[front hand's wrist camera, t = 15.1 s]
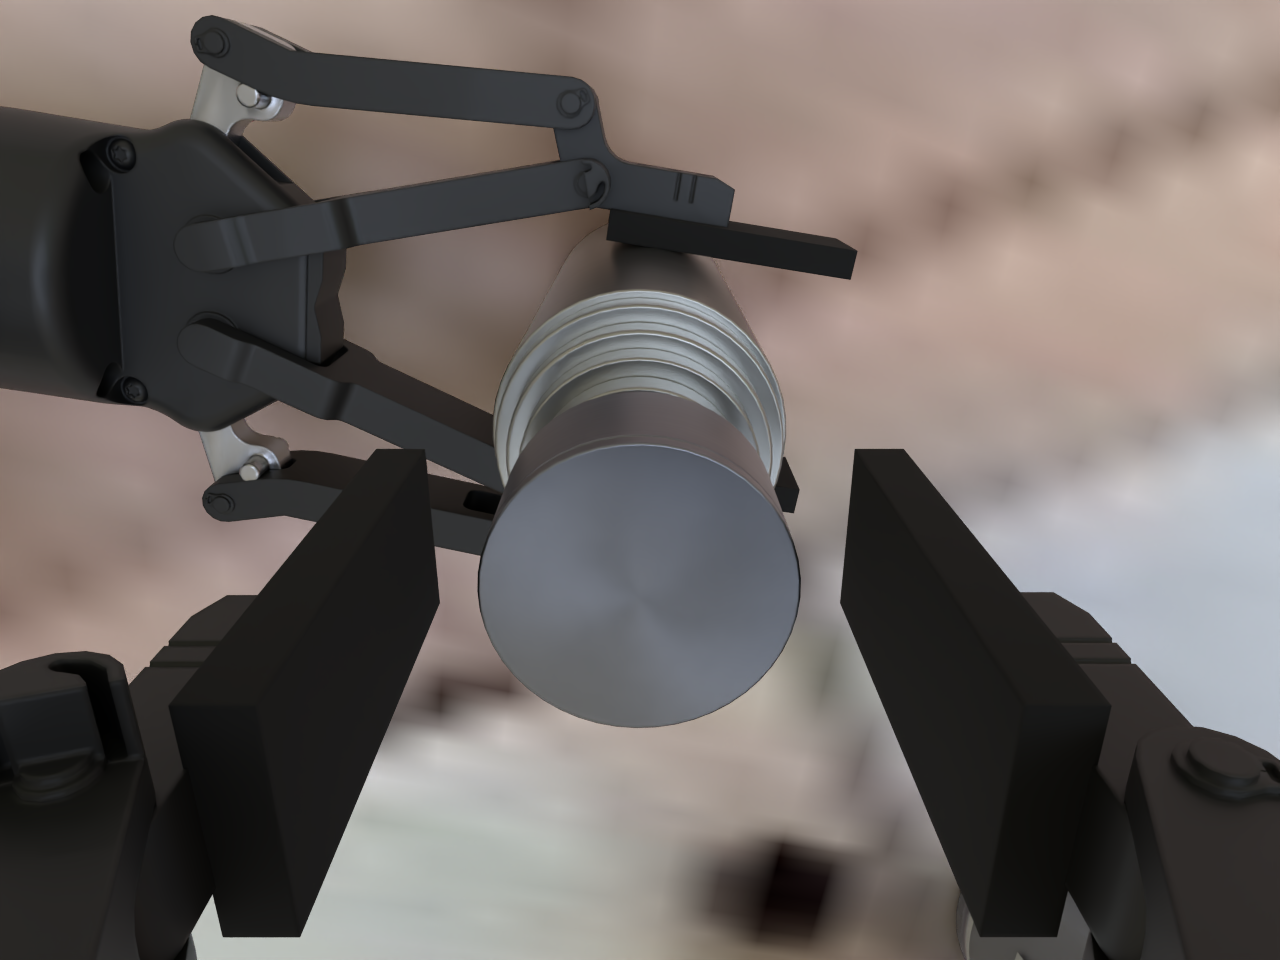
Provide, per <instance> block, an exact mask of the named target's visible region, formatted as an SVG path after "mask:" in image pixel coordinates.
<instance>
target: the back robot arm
mask: <svg viewBox="0 0 1280 960" xmlns="http://www.w3.org/2000/svg"><path fill="white" fill-rule="evenodd" d="M191 45H192V48H193V51H194V53H195V55H196V56H197V58H198V59H199V60H200V62H202V63H203V64H204V67H203V71H202V75H201V79H200V83H199V87H198V90H197V94H196V98H195V102H194V106H193V110H192V114H191V118H190V119H183V120H177V121H174V122H171V123H169V124H167V125H165V126H162V127H160V128H157V129H153V130H146V129H138V128H132V127H126V126H120V125H114V124H108V123H102V122H96V121H89V120H83V119H77V118H71V117H65V116H59V115H53V114H47V113H41V112H35V111H28V110H22V109H16V108H9V107H1V106H0V388H4V389H11V390H18V391H24V392H31V393H38V394H45V395H52V396H59V397H65V398H72V399H79V400H86V401H93V402H100V403H108V404H119V405H133V406H143V407H148V408H151V409H154V410H156V411H159V412H161V413H163V414H165V415H167V416H168V417H170V418H172V419H173V420H174V421H176V422H177V423H179V424H181V425H182V426H184V427H186V428H189V429H192V430H195V431H199V433H200V436H201V440H202V443H203V446H204V449H205V452H206V455H207V458H208V461H209V464H210V467H211V471H212V474H213V477H214V480H215V483H213V484H212V485H211V486H210V487H209V488H208V489H207V490H206V491H205V492H204V494H203V497H202V501H203V506H204V508H205V510H206V512H207V513H208V514H209V515H211V516H212V517H213V518H215V519H217V520H219V521H226V522H231V521H240V520H249V519H258V518H266V517H275V516H284V515H285V516H289V517H294V518H299V519H304V520H309V521H314V522H318V520H319V519H320V518H321V517H322V515H323V514H324V513H325V512H326V510H327V509H328V508H329V507H330V506H331V504H332V503H333V502H334V501H335V499H336V498H337V497H338V496H339V494H340V493H341V492H342V491H343V490H344V488H345V487H346V486H347V485H348V483H349V482H350V481H351V480H352V478H353V477H354V476H355V475H356V473H357V472H358V471H359V470H360V469H361V467H362V466H363V465H364V464H365V462H366V461H365V460H360V459H356V458H351V457H346V456H341V455H337V454H332V453H326V452H319V451H305V450H299V451H289V445H288V443H287V441H285V440H284V439H283V438H279V437H278V438H276V437H274V436H268V435H261V434H259V433H257V432H255V431H254V430H252V429H251V428H250V427H249V426H248V424H247V423H246V421H245V419H244V418H245V417H247V416H249V415H251V414H253V413H255V412H257V411H259V410H261V409H262V408H264V407H266V406H268V405H270V404H272V403H274V402H276V401H278V400H279V401H281V402H283V403H285V404H288V405H290V406H292V407H294V408H297V409H299V410H301V411H303V412H305V413H308V414H310V415H312V416H314V417H317V418H320V419H325V420H340V421H343V422H346V423H348V424H350V425H352V426H355V427H357V428H359V429H361V430H363V431H366V432H368V433H370V434H372V435H374V436H377V437H379V438H381V439H383V440H385V441H388V442H390V443H392V444H394V445H396V446H399V447H401V448H403V449H425V453H426V459H427V460H430V461H432V462H434V463H436V464H438V465H441V466H443V467H445V468H447V469H450V470H452V471H454V472H456V473H458V474H461V475H463V476H465V477H467V478H469V479H472V480H474V481H476V482H478V483H480V484H483V485H485V486H483V485H479V484H474V483H469V482H464V481H460V480H455V479H450V478H445V477H441V476H436V475H431V474H428V484H429V495H430V505H431V516H432V526H433V537H434V546H436V547H441V548H446V549H451V550H455V551H460V552H465V553H470V554H475V555H480V556H481V553H482V550H483V547H484V544H485V541H486V538H487V535H488V532H489V529H490V527H491V524H492V521H493V519H494V516H495V513H496V511H497V508H498V505H499V502H500V500H501V497H502V494H503V492H504V487H503V484H502V481H501V477H500V474H499V470H498V467H497V460H496V456H495V449H494V442H493V415H492V414H490V413H487V412H485V411H483V410H481V409H479V408H477V407H475V406H472V405H470V404H468V403H466V402H464V401H462V400H460V399H458V398H455V397H453V396H451V395H449V394H447V393H445V392H443V391H440V390H438V389H436V388H434V387H432V386H430V385H428V384H425V383H423V382H421V381H419V380H417V379H415V378H413V377H410V376H408V375H406V374H404V373H402V372H400V371H398V370H395V369H393V368H391V367H389V366H387V365H385V364H383V363H381V362H379V361H378V360H377V359H376V358H375V356H374V355H373V354H372V353H371V352H369V351H367V350H366V349H364V348H362V347H359V346H357V345H355V344H353V343H351V342H349V341H347V340H345V339H343V333H344V320H343V316H342V312H341V307H340V303H339V299H338V291H339V288H340V285H341V282H342V278H343V275H344V272H345V269H346V248H350V247H354V246H358V245H363V244H369V243H375V242H382V241H388V240H394V239H400V238H406V237H412V236H419V235H425V234H431V233H437V232H443V231H449V230H455V229H462V228H468V227H474V226H480V225H486V224H492V223H499V222H505V221H511V220H517V219H523V218H529V217H535V216H542V215H548V214H554V213H560V212H566V211H572V210H578V209H585V208H590V210H591V209H594V208H603V209H609V210H610V216H609V223H608V230H607V237H606V240H608V241H614V242H620V243H626V244H632V245H639V246H645V247H651V248H657V249H663V250H670V251H676V252H682V253H688V254H694V255H700V256H707V257H713V258H719V259H725V260H731V261H737V262H744V263H750V264H756V265H762V266H768V267H775V268H781V269H787V270H793V271H799V272H805V273H812V274H818V275H824V276H830V277H836V278H843V279H849V280H851V276H852V272H853V267H854V263H855V259H856V255H857V250H855V249H853V248H852V247H850V246H848V245H846V244H845V243H843V242H841V241H840V240H838V239H836V238H830V237H824V236H818V235H812V234H805V233H799V232H793V231H787V230H781V229H775V228H769V227H763V226H757V225H751V224H745V223H739V222H732V221H729V218H730V213H731V207H732V202H733V197H734V192H735V190H734V189H733V188H731V187H730V186H728V185H727V184H725V183H724V182H722V181H721V180H719V179H717V178H716V177H714V176H711V175H705V174H699V173H693V172H687V171H682V170H676V169H670V168H664V167H658V166H652V165H646V164H640V163H634V162H629V161H625V160H622V159H621V158H619V157H618V156H616V155H615V154H614V153H613V152H612V151H611V149H610V147H609V146H608V144H607V141H606V138H605V133H604V128H603V123H602V118H601V113H600V108H599V101H598V97H597V95H596V93H595V91H594V90H593V89H592V88H591V87H590V86H589V85H588V84H587V83H585V82H584V81H582V80H580V79H577V78H574V77H568V76H557V75H546V74H536V73H525V72H515V71H504V70H493V69H483V68H472V67H461V66H451V65H440V64H430V63H419V62H408V61H398V60H387V59H376V58H366V57H355V56H344V55H334V54H323V53H313V52H311V51H309V50H306V49H304V48H302V47H300V46H298V45H296V44H294V43H292V42H290V41H288V40H286V39H284V38H282V37H280V36H277V35H275V34H273V33H271V32H269V31H267V30H265V29H263V28H260V27H256V26H253V25H249V24H246V23H242V22H238V21H234V20H230V19H225V18H221V17H217V16H213V15H210V16H205V17H202V18H201V19H199V20H198V21H197V22H195V24H194V26H193V28H192V30H191ZM296 103H298V104H304V105H311V106H320V107H331V108H342V109H353V110H364V111H375V112H385V113H396V114H407V115H418V116H429V117H440V118H451V119H461V120H472V121H483V122H494V123H505V124H516V125H526V126H537V127H548V128H553V129H554V133H555V138H556V143H557V147H558V152H559V157H560V160H557V161H551V162H545V163H539V164H533V165H527V166H521V167H515V168H509V169H503V170H497V171H491V172H485V173H479V174H473V175H467V176H461V177H455V178H449V179H443V180H437V181H431V182H424V183H418V184H412V185H406V186H400V187H394V188H388V189H382V190H376V191H368V192H362V193H356V194H350V195H344V196H338V197H332V198H326V199H320V200H314V201H313V200H312V199H311V198H310V197H309V196H308V195H307V194H306V193H305V192H304V191H303V190H301V189H300V188H299V187H298V186H297V185H296V184H295V183H294V182H293V181H292V180H291V179H289V178H288V177H287V176H286V175H285V174H284V173H283V172H282V171H281V170H280V169H279V168H277V167H276V166H275V165H274V164H273V163H272V162H271V161H270V160H269V159H268V158H267V157H265V156H264V155H263V154H262V153H261V152H260V151H259V150H258V149H257V148H256V147H255V146H253V145H252V144H251V143H250V142H249V141H248V140H247V139H246V138H245V137H244V136H243V135H242V134H243V132H244V129H245V127H246V126H247V125H248V124H249V123H251V122H252V121H254V120H259V121H281V120H284V119H286V118H288V117H289V116H290V115H291V113H292V112H293V110H294V108H295V104H296ZM774 490H775V493H776V496H777V498H778V501H779V504H780V507H781V509H782V512H789V513H794V510H795V506H796V502H797V498H798V494H799V487H798V485H797V483H796V481H795V478H794V476H793V474H792V471H791V469H790V467H789V464H788V462H787V460H786V458H785V457H783V458H782V465H781V469H780V473H779V477H778V480H777V483H776V486H775V488H774Z"/></svg>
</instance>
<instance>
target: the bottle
mask: <svg viewBox="0 0 1280 960" xmlns="http://www.w3.org/2000/svg"><path fill="white" fill-rule="evenodd" d="M607 230H608V224H606V225H604V226H602V227H600V228H598V229H596V230H594V231H593V232H592V233H590V234H589V235H587V236H586V237H585V238H584V239H583V240H582V241H580V242H579V243H578V244H577V245H576V247H575V248H574V249H573V250H572V251H571V253H570V254H569V256H568V257H567V259H566V261H565V262H564V264H563V266H562V268H561V269H560V271H559V273H558V275H557V277H556V279H555V280H554V282H553V284H552V286H551V288H550V289H549V291H548V293H547V295H546V297H545V299H544V300H543V302H542V304H541V306H540V308H539V310H538V311H537V313H536V315H535V317H534V319H533V321H532V322H531V324H530V326H529V328H528V330H527V332H526V333H525V335H524V337H523V339H522V341H521V343H520V344H519V346H518V348H517V350H516V352H515V354H514V355H513V357H512V359H511V361H510V363H509V365H508V367H507V369H506V371H505V373H504V376H503V378H502V380H501V382H500V386H499V389H498V393H497V396H496V400H495V406H494V414H493V442H494V449H495V456H496V460H497V467H498V470H499V474H500V477H501V481H502V484H503V487H504V489H505V486H506V484H507V481H508V478H509V476H510V473H511V471H512V469H513V467H514V465H515V463H516V461H517V459H518V457H519V455H520V454H521V452H522V451H523V450H524V448H525V447H526V445H527V444H528V442H529V441H530V440H531V439H532V438H533V437H534V436H535V435H536V434H537V433H538V432H539V430H540V429H542V428H543V427H544V426H545V425H547V424H548V423H549V422H550V421H551V420H553V419H554V418H555V417H557V416H559V415H560V414H562V413H563V412H565V411H567V410H568V409H570V408H572V407H574V406H576V405H579V404H581V403H583V402H585V401H588V400H591V399H594V398H598V397H601V396H604V395H610V394H615V393H621V392H639V391H644V392H656V393H664V394H669V395H673V396H678V397H681V398H684V399H687V400H690V401H693V402H696V403H698V404H700V405H702V406H704V407H706V408H708V409H710V410H712V411H714V412H715V413H717V414H718V415H720V416H721V417H723V418H724V419H726V420H727V421H729V422H730V423H731V424H732V425H733V426H734V427H735V428H736V429H738V430H739V431H740V432H741V433H742V434H743V435H744V436H745V438H746V439H747V440H748V441H749V442H750V443H751V445H752V446H753V447H754V449H755V450H756V452H757V453H758V455H759V457H760V458H761V460H762V461H763V463H764V466H765V468H766V470H767V472H768V475H769V477H770V479H771V482H772V485H773V488H775V486H776V483H777V480H778V477H779V473H780V469H781V465H782V458H783V455H784V448H785V440H786V415H785V408H784V402H783V397H782V394H781V390H780V387H779V383H778V381H777V378H776V376H775V374H774V372H773V370H772V367H771V365H770V363H769V361H768V359H767V358H766V356H765V354H764V352H763V350H762V348H761V347H760V345H759V343H758V341H757V339H756V337H755V336H754V334H753V332H752V330H751V328H750V326H749V324H748V323H747V321H746V319H745V317H744V315H743V313H742V312H741V310H740V308H739V306H738V304H737V302H736V300H735V299H734V297H733V295H732V293H731V291H730V289H729V288H728V286H727V284H726V282H725V280H724V278H723V277H722V275H721V273H720V271H719V269H718V267H717V265H716V264H715V262H714V260H713V259H712V257H707V256H700V255H694V254H688V253H682V252H676V251H670V250H663V249H657V248H651V247H645V246H639V245H632V244H626V243H620V242H614V241H608V240H606V237H607Z"/></svg>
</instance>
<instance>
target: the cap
mask: <svg viewBox="0 0 1280 960" xmlns="http://www.w3.org/2000/svg"><path fill="white" fill-rule="evenodd" d="M800 589H801V576H800V568H799V560H798V556H797V553H796V549H795V546H794V542H793V539H792V537H791V534H790V531H789V528H788V526H787V523H786V520H785V518H784V515H783V512H782V509H781V507H780V504H779V501H778V498H777V496H776V493H775V490H774V488H773V485H772V482H771V479H770V477H769V475H768V472H767V470H766V468H765V466H764V463H763V461H762V460H761V458H760V457H759V455H758V453H757V452H756V450H755V449H754V447H753V446H752V445H751V443H750V442H749V441H748V440H747V439H746V438H745V436H744V435H743V434H742V433H741V432H740V431H739V430H738V429H736V428H735V427H734V426H733V425H732V424H731V423H730V422H729V421H727V420H726V419H724V418H723V417H721V416H720V415H718V414H717V413H715V412H714V411H712V410H710V409H708V408H706V407H704V406H702V405H700V404H698V403H696V402H693V401H690V400H687V399H684V398H681V397H678V396H673V395H669V394H664V393H656V392H644V391H639V392H621V393H615V394H610V395H604V396H601V397H598V398H594V399H591V400H588V401H585V402H583V403H581V404H579V405H576V406H574V407H572V408H570V409H568V410H567V411H565V412H563V413H562V414H560V415H559V416H557V417H555V418H554V419H553V420H551V421H550V422H549V423H548V424H547V425H545V426H544V427H543V428H542V429H540V430H539V432H538V433H537V434H536V435H535V436H534V437H533V438H532V439H531V440H530V441H529V442H528V444H527V445H526V447H525V448H524V450H523V451H522V452H521V454H520V455H519V457H518V459H517V461H516V463H515V465H514V467H513V469H512V471H511V473H510V476H509V478H508V481H507V484H506V486H505V489H504V492H503V494H502V497H501V500H500V502H499V505H498V508H497V511H496V513H495V516H494V519H493V521H492V524H491V527H490V529H489V532H488V535H487V538H486V541H485V544H484V547H483V550H482V553H481V558H480V564H479V569H478V599H479V607H480V612H481V616H482V619H483V623H484V626H485V629H486V631H487V634H488V636H489V638H490V640H491V643H492V645H493V647H494V648H495V650H496V651H497V653H498V655H499V656H500V658H501V660H502V661H503V662H504V664H505V665H506V666H507V667H508V669H509V670H510V671H511V672H512V674H513V675H514V676H515V677H516V678H517V679H518V680H519V681H520V682H521V683H522V684H524V685H525V686H526V687H527V688H528V689H529V690H530V691H532V692H533V693H534V694H536V695H537V696H538V697H540V698H541V699H543V700H544V701H546V702H547V703H549V704H551V705H553V706H555V707H556V708H558V709H560V710H562V711H564V712H567V713H569V714H571V715H574V716H576V717H579V718H582V719H585V720H589V721H592V722H595V723H600V724H605V725H611V726H616V727H630V728H648V727H661V726H667V725H674V724H679V723H682V722H686V721H690V720H694V719H697V718H699V717H702V716H704V715H707V714H710V713H712V712H714V711H716V710H718V709H720V708H722V707H724V706H726V705H728V704H730V703H731V702H733V701H734V700H735V699H737V698H738V697H740V696H741V695H743V694H744V693H746V692H747V691H748V690H749V689H750V688H751V687H753V686H754V685H755V684H756V683H757V682H758V681H759V680H760V679H761V678H762V677H763V676H764V675H765V674H766V673H767V671H768V670H769V669H770V668H771V667H772V666H773V664H774V663H775V661H776V660H777V658H778V657H779V655H780V654H781V652H782V651H783V649H784V647H785V645H786V643H787V641H788V639H789V637H790V635H791V633H792V630H793V626H794V623H795V620H796V617H797V613H798V607H799V602H800Z"/></svg>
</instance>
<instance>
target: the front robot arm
mask: <svg viewBox="0 0 1280 960" xmlns="http://www.w3.org/2000/svg"><path fill="white" fill-rule="evenodd" d="M439 604H440V600H439V589H438V579H437V568H436V558H435V547H434V537H433V526H432V516H431V505H430V495H429V484H428V474H427V463H426V453H425V449H376V450H375V451H374V453H373V454H372V455H371V456H370V457H369V459H368V460H367V461H366V462H365V464H364V465H363V466H362V467H361V469H360V470H359V471H358V472H357V473H356V475H355V476H354V477H353V478H352V480H351V481H350V482H349V483H348V485H347V486H346V487H345V488H344V490H343V491H342V492H341V493H340V494H339V496H338V497H337V498H336V499H335V501H334V502H333V503H332V504H331V506H330V507H329V508H328V509H327V510H326V512H325V513H324V514H323V515H322V517H321V518H320V519H319V520H318V522H317V523H316V524H315V525H314V526H313V528H312V529H311V530H310V531H309V533H308V534H307V535H306V536H305V538H304V539H303V540H302V541H301V543H300V544H299V545H298V546H297V547H296V549H295V550H294V551H293V552H292V554H291V555H290V556H289V557H288V559H287V560H286V561H285V562H284V563H283V565H282V566H281V567H280V568H279V570H278V571H277V572H276V573H275V575H274V576H273V577H272V578H271V579H270V581H269V582H268V583H267V584H266V586H265V587H264V588H263V589H262V591H261V592H260V593H259V594H258V595H227V596H225V597H223V598H222V599H220V600H218V601H217V602H215V603H213V604H212V605H210V606H208V607H206V608H205V609H203V610H201V611H200V612H198V613H196V614H195V615H193V616H191V617H190V618H189V620H188V621H187V622H186V623H185V624H184V625H183V626H182V627H181V628H180V629H179V631H178V632H177V633H176V634H175V635H174V636H173V637H172V638H171V639H170V640H169V645H168V646H164V647H163V648H162V649H161V650H160V651H159V652H158V654H157V655H156V656H155V657H154V658H153V659H152V660H151V661H150V667H145V668H144V669H143V670H142V671H141V672H140V673H139V674H138V676H137V677H136V678H135V679H134V680H133V681H132V682H131V683H130V684H129V685H128V682H127V678H126V674H125V670H124V666H123V664H122V663H120V662H119V661H117V660H116V659H114V658H113V657H112V656H110V655H106V654H100V653H94V652H88V651H81V652H67V653H55V654H51V655H47V656H42V657H38V658H34V659H30V660H26V661H22V662H19V663H17V664H14V665H12V666H9V667H7V668H4V669H2V670H0V960H197V956H196V950H195V946H194V942H193V938H192V934H191V932H192V930H193V928H194V927H195V925H196V923H197V921H198V919H199V918H200V916H201V914H202V912H203V910H204V909H205V907H206V905H207V903H208V901H209V900H210V898H211V896H212V894H213V897H214V902H215V906H216V910H217V914H218V919H219V923H220V927H221V931H222V935H223V937H300V936H301V934H302V931H303V929H304V927H305V924H306V922H307V919H308V917H309V915H310V912H311V910H312V907H313V905H314V903H315V900H316V898H317V895H318V893H319V891H320V888H321V886H322V884H323V881H324V879H325V876H326V874H327V872H328V869H329V867H330V864H331V862H332V860H333V857H334V855H335V852H336V850H337V848H338V845H339V843H340V840H341V838H342V836H343V833H344V831H345V829H346V826H347V824H348V821H349V819H350V817H351V814H352V812H353V809H354V807H355V805H356V802H357V800H358V797H359V795H360V793H361V790H362V788H363V785H364V783H365V781H366V778H367V776H368V773H369V771H370V769H371V766H372V764H373V762H374V759H375V757H376V754H377V752H378V750H379V747H380V745H381V742H382V740H383V738H384V735H385V733H386V730H387V728H388V726H389V723H390V721H391V718H392V716H393V714H394V711H395V709H396V707H397V704H398V702H399V699H400V697H401V695H402V692H403V690H404V687H405V685H406V683H407V680H408V678H409V675H410V673H411V671H412V668H413V666H414V663H415V661H416V659H417V656H418V654H419V652H420V649H421V647H422V644H423V642H424V640H425V637H426V635H427V632H428V630H429V628H430V625H431V623H432V620H433V618H434V616H435V613H436V611H437V608H438V606H439ZM840 604H841V606H842V608H843V611H844V613H845V616H846V618H847V620H848V623H849V625H850V628H851V630H852V632H853V635H854V637H855V640H856V642H857V644H858V647H859V649H860V652H861V654H862V656H863V659H864V661H865V663H866V666H867V668H868V671H869V673H870V675H871V678H872V680H873V683H874V685H875V687H876V690H877V692H878V695H879V697H880V699H881V702H882V704H883V707H884V709H885V711H886V714H887V716H888V718H889V721H890V723H891V726H892V728H893V730H894V733H895V735H896V738H897V740H898V742H899V745H900V747H901V750H902V752H903V754H904V757H905V759H906V762H907V764H908V766H909V769H910V771H911V774H912V776H913V778H914V781H915V783H916V785H917V788H918V790H919V793H920V795H921V797H922V800H923V802H924V805H925V807H926V809H927V812H928V814H929V817H930V819H931V821H932V824H933V826H934V829H935V831H936V833H937V836H938V838H939V840H940V843H941V845H942V848H943V850H944V852H945V855H946V857H947V860H948V862H949V864H950V867H951V869H952V872H953V874H954V876H955V879H956V881H957V884H958V886H959V888H960V891H961V894H960V897H959V902H958V907H957V918H956V924H957V935H958V940H959V944H960V947H961V950H962V953H963V955H964V958H965V960H1280V760H1279V759H1277V758H1276V757H1274V756H1273V755H1272V754H1270V753H1269V752H1268V751H1266V750H1264V749H1261V748H1259V747H1257V746H1255V745H1253V744H1251V743H1249V742H1246V741H1244V740H1242V739H1240V738H1238V737H1236V736H1232V735H1229V734H1225V733H1221V732H1218V731H1214V730H1211V729H1207V728H1203V727H1193V726H1192V725H1191V724H1190V723H1189V721H1188V720H1187V719H1186V718H1185V717H1184V716H1183V715H1182V714H1181V713H1180V712H1179V711H1178V709H1177V708H1176V707H1175V706H1174V705H1173V704H1172V703H1171V702H1170V701H1169V700H1168V699H1167V698H1166V696H1165V695H1164V694H1163V693H1162V692H1161V691H1160V690H1159V689H1158V688H1157V687H1156V686H1155V684H1154V683H1153V682H1152V681H1151V680H1150V679H1149V678H1148V677H1147V676H1146V675H1145V674H1144V672H1143V671H1142V670H1141V669H1140V668H1139V667H1138V666H1137V665H1136V664H1131V658H1130V657H1129V656H1128V655H1127V654H1126V653H1125V652H1124V651H1123V650H1122V648H1121V647H1120V646H1119V645H1118V644H1117V643H1112V638H1111V637H1110V635H1109V634H1108V633H1107V632H1106V631H1105V630H1104V629H1103V628H1102V627H1101V626H1100V625H1099V623H1098V622H1097V621H1096V620H1095V619H1094V618H1093V617H1092V616H1091V615H1090V614H1089V613H1088V612H1086V611H1084V610H1083V609H1081V608H1079V607H1077V606H1076V605H1074V604H1072V603H1071V602H1069V601H1067V600H1066V599H1064V598H1062V597H1060V596H1059V595H1057V594H1055V593H1054V592H1019V591H1018V589H1017V588H1016V587H1015V586H1014V584H1013V583H1012V582H1011V581H1010V579H1009V578H1008V577H1007V576H1006V575H1005V573H1004V572H1003V571H1002V570H1001V568H1000V567H999V566H998V565H997V563H996V562H995V561H994V560H993V559H992V557H991V556H990V555H989V554H988V552H987V551H986V550H985V549H984V547H983V546H982V545H981V544H980V543H979V541H978V540H977V539H976V538H975V536H974V535H973V534H972V533H971V531H970V530H969V529H968V528H967V526H966V525H965V524H964V523H963V522H962V520H961V519H960V518H959V517H958V515H957V514H956V513H955V512H954V510H953V509H952V508H951V507H950V506H949V504H948V503H947V502H946V501H945V499H944V498H943V497H942V496H941V494H940V493H939V492H938V491H937V490H936V488H935V487H934V486H933V485H932V483H931V482H930V481H929V480H928V478H927V477H926V476H925V475H924V473H923V472H922V471H921V470H920V469H919V467H918V466H917V465H916V464H915V462H914V461H913V460H912V459H911V457H910V456H909V455H908V454H907V453H906V451H905V450H904V449H855V453H854V463H853V474H852V484H851V495H850V505H849V516H848V526H847V537H846V547H845V558H844V568H843V579H842V589H841V600H840Z"/></svg>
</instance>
